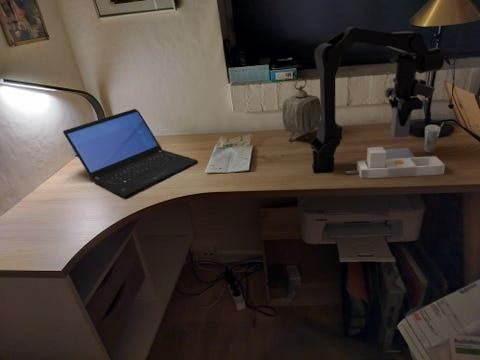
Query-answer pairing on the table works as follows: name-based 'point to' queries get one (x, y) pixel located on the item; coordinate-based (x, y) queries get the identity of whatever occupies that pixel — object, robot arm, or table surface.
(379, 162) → the block
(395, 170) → the power strip
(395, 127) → the grey rectangular block
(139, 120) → the laptop
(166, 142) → the table surface
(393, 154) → the slate mat
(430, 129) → the milkshake
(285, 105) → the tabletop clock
